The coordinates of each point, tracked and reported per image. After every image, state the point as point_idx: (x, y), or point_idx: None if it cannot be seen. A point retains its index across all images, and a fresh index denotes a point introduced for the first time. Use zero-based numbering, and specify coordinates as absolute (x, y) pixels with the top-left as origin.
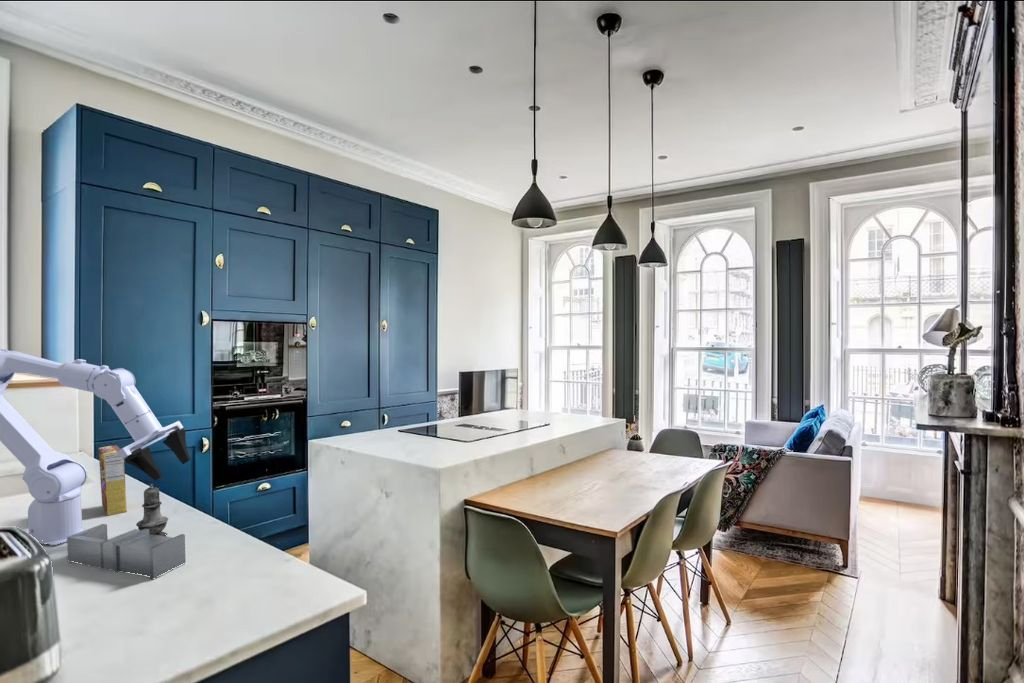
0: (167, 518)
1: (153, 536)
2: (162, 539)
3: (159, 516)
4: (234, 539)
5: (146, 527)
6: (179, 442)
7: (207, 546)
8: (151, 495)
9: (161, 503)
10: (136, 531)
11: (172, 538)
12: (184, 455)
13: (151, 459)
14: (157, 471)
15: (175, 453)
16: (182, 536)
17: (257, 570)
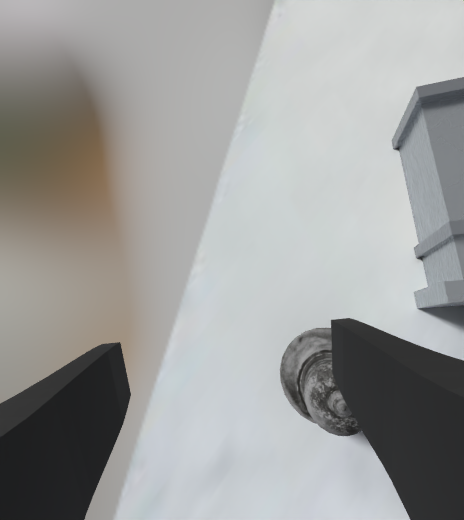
0: (288, 349)
1: (453, 185)
2: (454, 139)
3: (318, 350)
4: (246, 165)
5: None
6: (16, 443)
7: (301, 183)
8: None
9: (307, 357)
10: (455, 281)
11: (456, 87)
12: (101, 376)
13: (441, 372)
14: (371, 326)
15: (91, 486)
16: (424, 87)
17: (340, 3)
